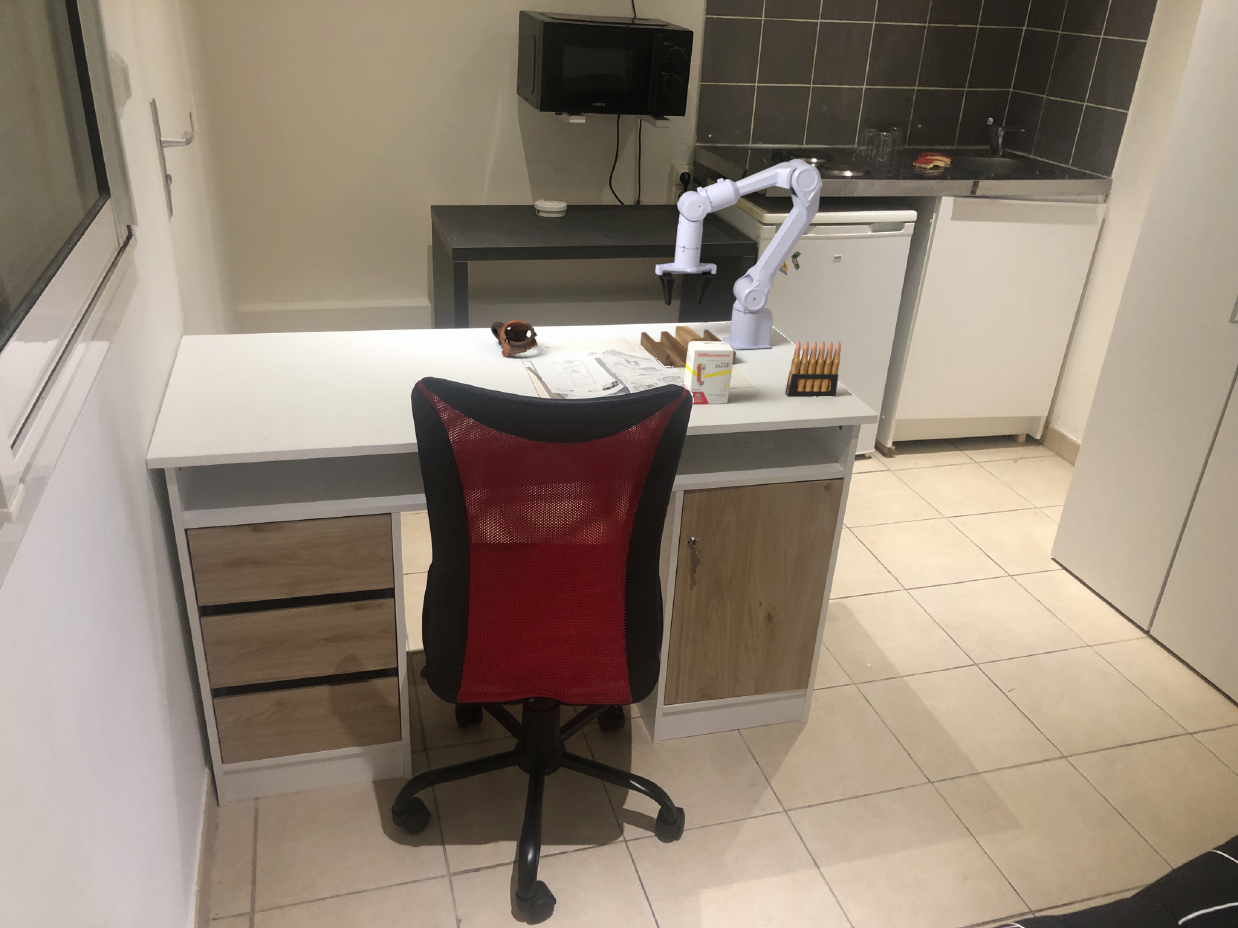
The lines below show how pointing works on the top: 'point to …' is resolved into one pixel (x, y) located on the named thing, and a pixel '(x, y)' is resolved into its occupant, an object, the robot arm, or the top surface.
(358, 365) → the top surface
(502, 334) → the pottery mug
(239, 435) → the top surface
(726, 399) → the ink box
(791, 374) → the ammunition clip
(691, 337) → the tall wooden plank
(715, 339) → the notched ledge
